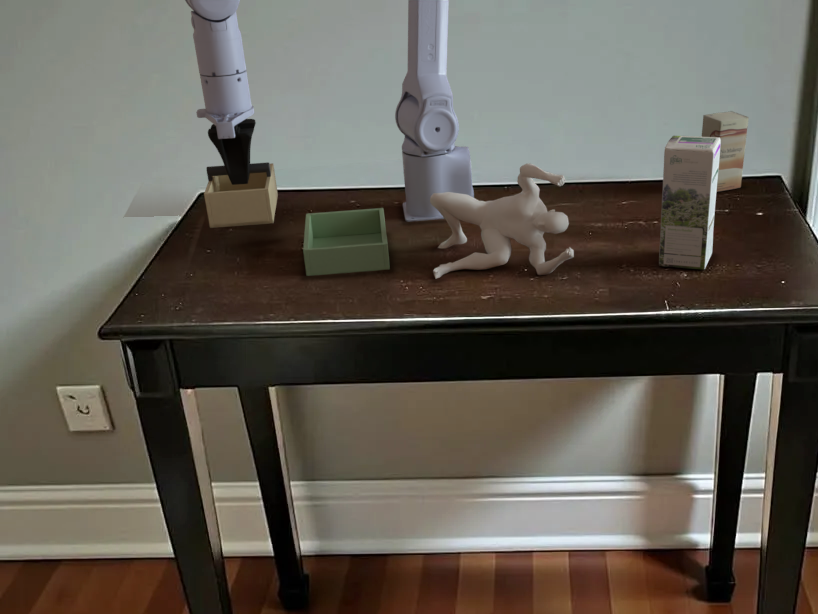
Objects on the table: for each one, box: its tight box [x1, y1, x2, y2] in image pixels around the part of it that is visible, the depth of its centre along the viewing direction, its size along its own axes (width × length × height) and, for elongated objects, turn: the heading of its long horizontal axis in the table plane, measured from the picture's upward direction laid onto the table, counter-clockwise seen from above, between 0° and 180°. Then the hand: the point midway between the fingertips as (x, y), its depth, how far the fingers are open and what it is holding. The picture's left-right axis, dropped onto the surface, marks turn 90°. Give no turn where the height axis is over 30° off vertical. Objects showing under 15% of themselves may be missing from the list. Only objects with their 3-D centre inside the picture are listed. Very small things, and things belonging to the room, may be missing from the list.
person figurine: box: [430, 162, 575, 280], centre depth 130 cm, size 13×13×18 cm
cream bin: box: [203, 162, 279, 229], centre depth 139 cm, size 8×12×6 cm, turn 7°
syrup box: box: [658, 135, 721, 271], centre depth 126 cm, size 6×6×14 cm
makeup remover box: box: [701, 110, 749, 193], centre depth 152 cm, size 5×4×10 cm
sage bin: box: [302, 207, 391, 277], centre depth 136 cm, size 10×14×4 cm
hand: (240, 181), depth 139 cm, fingers closed on cream bin
